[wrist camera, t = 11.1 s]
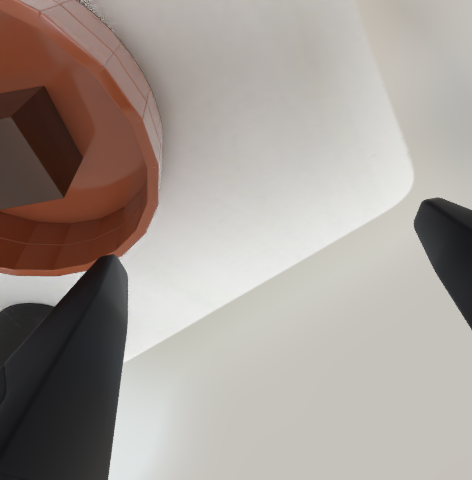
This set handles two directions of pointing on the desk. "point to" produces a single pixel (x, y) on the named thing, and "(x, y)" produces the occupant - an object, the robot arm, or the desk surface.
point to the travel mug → (19, 326)
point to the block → (34, 149)
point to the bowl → (81, 138)
